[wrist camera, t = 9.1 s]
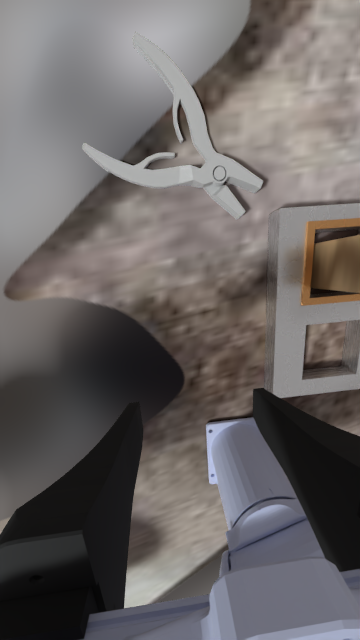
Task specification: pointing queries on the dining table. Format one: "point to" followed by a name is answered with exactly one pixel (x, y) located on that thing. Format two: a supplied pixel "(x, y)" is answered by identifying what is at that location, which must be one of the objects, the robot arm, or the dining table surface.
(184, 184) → the pliers
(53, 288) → the dining table surface
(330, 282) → the peg
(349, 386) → the socket board
